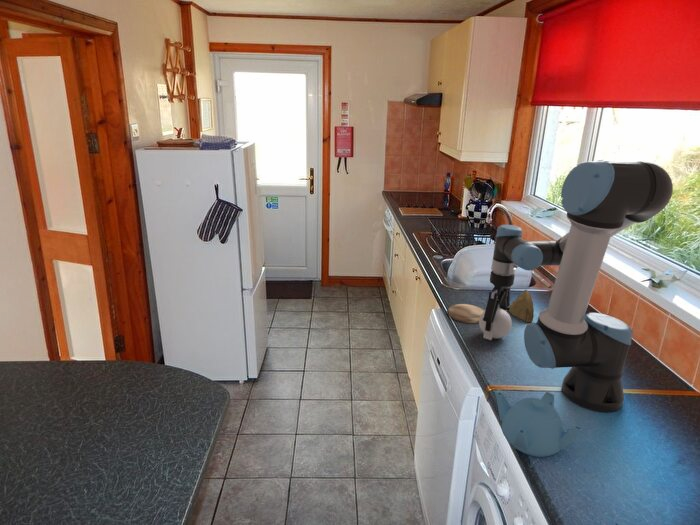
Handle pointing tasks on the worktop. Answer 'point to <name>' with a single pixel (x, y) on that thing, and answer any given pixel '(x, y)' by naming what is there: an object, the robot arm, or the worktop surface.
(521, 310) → the rock
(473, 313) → the trivet
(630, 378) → the worktop surface
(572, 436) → the teapot
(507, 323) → the ornament
